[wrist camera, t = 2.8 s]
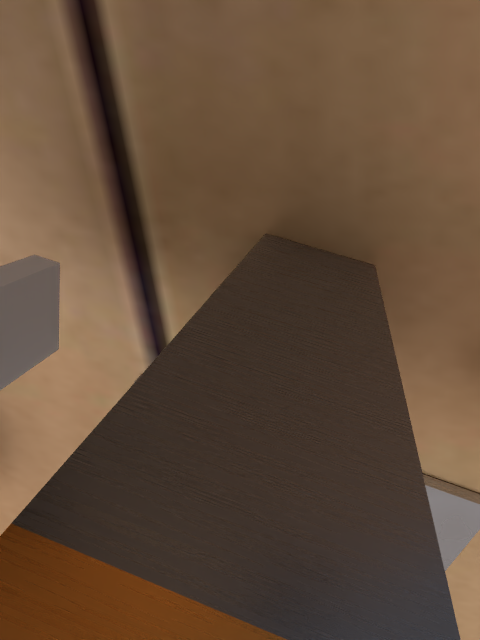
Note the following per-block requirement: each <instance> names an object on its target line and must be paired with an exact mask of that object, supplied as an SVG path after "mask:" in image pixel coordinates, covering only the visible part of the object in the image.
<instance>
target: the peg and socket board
mask: <svg viewBox="0 0 480 640" xmlns="http://www.w3.org/2000/svg"><path fill="white" fill-rule="evenodd" d="M140 376H141V375H140ZM140 376H139V377H140ZM139 377H138V378H139ZM138 378H137V380H138ZM137 380H136V381H137ZM136 381H135V382H136ZM423 478H424V482H425V487H426V491H427V496H428V500H429V504H430V509H431V513H432V517H433V522H434V526H435V531H436V535H437V539H438V544H439V548H440V552H441V557H442V561H443V566H444V570H445V571H446V569H447V568H448V567H449V566H450V564H451V563H452V562H453V561H454V560H455V558H456V557H457V556H458V555H459V554H460V552H461V551H462V550H463V549H464V548H465V546H466V545H467V544H468V543H469V541H470V540H471V539H472V538H473V537H474V535H475V534H476V533H477V532H478V531H479V529H480V494H478V493H475V492H472V491H469V490H467V489H464V488H461V487H458V486H455V485H452V484H450V483H447V482H444V481H441V480H438V479H435V478H433V477H430V476H427V475H424V474H423Z"/></svg>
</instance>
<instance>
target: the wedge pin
mask: <svg viewBox="0 0 480 640" xmlns="http://www.w3.org/2000/svg"><path fill="white" fill-rule="evenodd" d="M0 640H460V636H459V631H458V627H457V623H456V618H455V614H454V609H453V605H452V601H451V596H450V592H449V587H448V583H447V579H446V574H445V570H444V566H443V561H442V557H441V552H440V548H439V544H438V539H437V535H436V531H435V526H434V522H433V517H432V513H431V509H430V504H429V500H428V496H427V491H426V487H425V482H424V478H423V474H422V469H421V465H420V461H419V456H418V452H417V447H416V443H415V439H414V434H413V430H412V425H411V421H410V417H409V412H408V408H407V404H406V399H405V395H404V390H403V386H402V382H401V377H400V373H399V369H398V364H397V360H396V355H395V351H394V347H393V342H392V338H391V334H390V329H389V325H388V320H387V316H386V312H385V307H384V303H383V299H382V294H381V290H380V285H379V281H378V277H377V272H376V268H375V265H371V264H368V263H364V262H361V261H358V260H354V259H351V258H347V257H344V256H341V255H337V254H334V253H330V252H327V251H324V250H320V249H317V248H313V247H310V246H306V245H303V244H300V243H296V242H293V241H289V240H286V239H283V238H279V237H276V236H272V235H269V234H265V235H264V236H263V237H262V238H261V239H260V240H259V242H258V243H257V244H256V245H255V246H254V247H253V248H252V250H251V251H250V252H249V253H248V254H247V255H246V256H245V258H244V259H243V260H242V261H241V262H240V263H239V264H238V266H237V267H236V268H235V269H234V270H233V271H232V272H231V273H230V275H229V276H228V277H227V278H226V279H225V280H224V281H223V283H222V284H221V285H220V286H219V287H218V288H217V289H216V291H215V292H214V293H213V294H212V295H211V296H210V297H209V299H208V300H207V301H206V302H205V303H204V304H203V305H202V307H201V308H200V309H199V310H198V311H197V312H196V313H195V315H194V316H193V317H192V318H191V319H190V320H189V321H188V323H187V324H186V325H185V326H184V327H183V328H182V329H181V331H180V332H179V333H178V334H177V335H176V336H175V337H174V339H173V340H172V341H171V342H170V343H169V344H168V345H167V346H166V348H165V349H164V350H163V351H162V352H161V353H160V354H159V356H158V357H157V358H156V359H155V360H154V361H153V362H152V364H151V365H150V366H149V367H148V368H147V369H146V370H145V372H144V373H143V374H142V375H141V376H140V377H139V378H138V380H137V381H136V382H135V383H134V384H133V385H132V386H131V388H130V389H129V390H128V391H127V392H126V393H125V394H124V396H123V397H122V398H121V399H120V400H119V401H118V402H117V404H116V405H115V406H114V407H113V408H112V409H111V410H110V411H109V413H108V414H107V415H106V416H105V417H104V418H103V419H102V421H101V422H100V423H99V424H98V425H97V426H96V427H95V429H94V430H93V431H92V432H91V433H90V434H89V435H88V437H87V438H86V439H85V440H84V441H83V442H82V443H81V445H80V446H79V447H78V448H77V449H76V450H75V451H74V453H73V454H72V455H71V456H70V457H69V458H68V459H67V461H66V462H65V463H64V464H63V465H62V466H61V467H60V469H59V470H58V471H57V472H56V473H55V474H54V475H53V477H52V478H51V479H50V480H49V481H48V482H47V483H46V484H45V486H44V487H43V488H42V489H41V490H40V491H39V492H38V494H37V495H36V496H35V497H34V498H33V499H32V500H31V502H30V503H29V504H28V505H27V506H26V507H25V508H24V510H23V511H22V512H21V513H20V514H19V515H18V516H17V518H16V519H15V520H14V521H13V522H12V523H11V524H10V526H9V527H8V528H7V529H6V530H5V531H4V532H3V534H2V535H1V536H0Z"/></svg>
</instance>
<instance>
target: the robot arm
mask: <svg viewBox="0 0 480 640" xmlns="http://www.w3.org/2000/svg"><path fill="white" fill-rule="evenodd" d="M59 287H60V263H59V262H55V261H52V260H49V259H46V258H43V257H40V256H37V255H32V256H29V257H26V258H23V259H21V260H18V261H15V262H12V263H9V264H6V265H3V266H0V390H1V389H3V388H4V387H6V386H7V385H8V384H10V383H11V382H13V381H14V380H15V379H17V378H18V377H20V376H21V375H23V374H24V373H25V372H27V371H28V370H30V369H31V368H33V367H34V366H35V365H37V364H38V363H40V362H41V361H42V360H44V359H45V358H47V357H48V356H50V355H51V354H52V353H54V352H55V351H57V350H58V349H59Z"/></svg>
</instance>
